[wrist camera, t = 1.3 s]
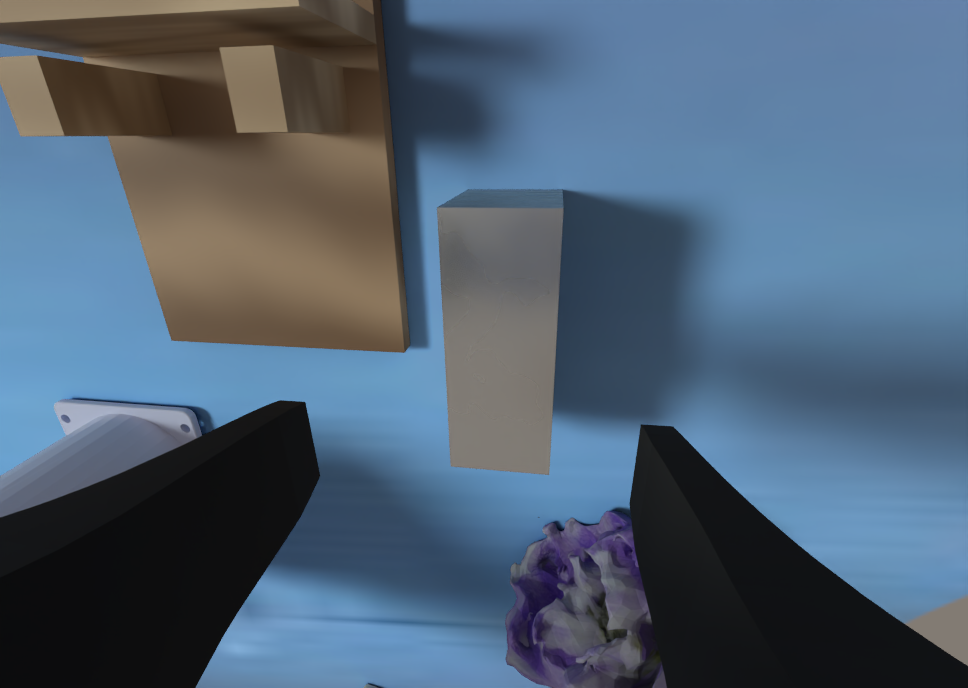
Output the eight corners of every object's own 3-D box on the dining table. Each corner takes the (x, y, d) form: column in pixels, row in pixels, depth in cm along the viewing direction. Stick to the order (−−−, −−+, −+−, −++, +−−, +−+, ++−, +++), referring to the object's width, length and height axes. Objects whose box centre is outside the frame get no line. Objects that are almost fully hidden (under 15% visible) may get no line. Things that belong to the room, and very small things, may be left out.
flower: (833, 733, 17) (639, 792, 13) (669, 713, 24) (503, 749, 20) (743, 491, 22) (580, 482, 18) (627, 527, 28) (485, 527, 24)
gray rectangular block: (551, 400, 21) (548, 474, 16) (474, 396, 21) (450, 466, 17) (562, 189, 17) (563, 208, 13) (468, 189, 18) (437, 207, 13)
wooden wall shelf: (410, 344, 20) (358, 417, 15) (184, 333, 22) (66, 396, 17) (378, -20, 15) (283, -103, 10) (83, -2, 17) (-135, -65, 11)
